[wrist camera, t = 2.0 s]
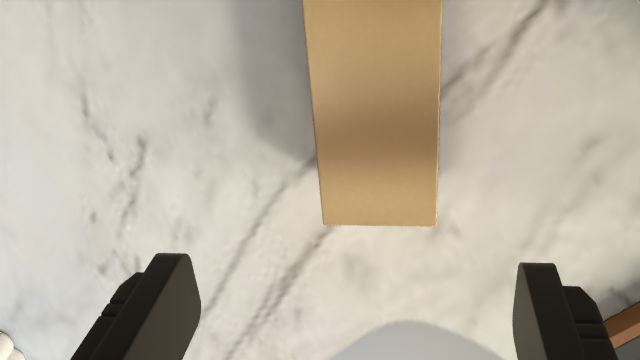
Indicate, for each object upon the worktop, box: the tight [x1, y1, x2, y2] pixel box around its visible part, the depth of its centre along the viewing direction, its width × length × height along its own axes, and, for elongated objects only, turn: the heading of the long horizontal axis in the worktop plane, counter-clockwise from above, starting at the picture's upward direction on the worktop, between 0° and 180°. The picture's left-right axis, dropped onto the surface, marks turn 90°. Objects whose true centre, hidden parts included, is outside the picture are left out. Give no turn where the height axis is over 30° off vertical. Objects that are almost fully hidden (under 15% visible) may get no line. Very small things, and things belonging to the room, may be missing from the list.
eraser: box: [302, 0, 443, 227], centre depth 24 cm, size 10×5×4 cm, turn 5°
